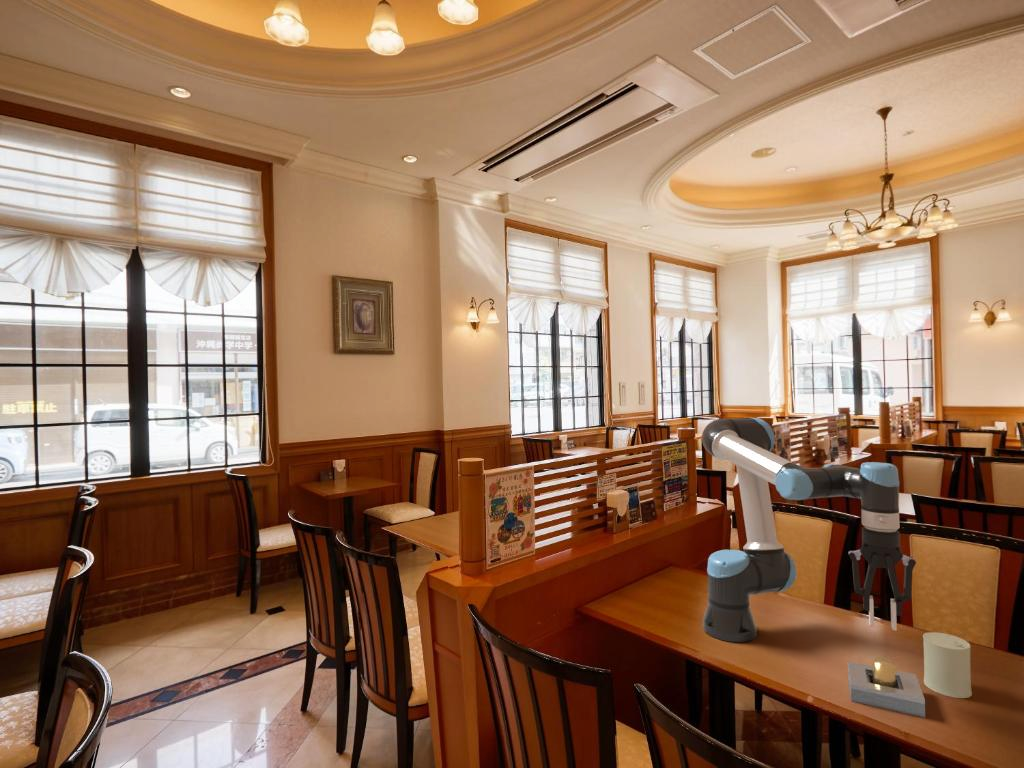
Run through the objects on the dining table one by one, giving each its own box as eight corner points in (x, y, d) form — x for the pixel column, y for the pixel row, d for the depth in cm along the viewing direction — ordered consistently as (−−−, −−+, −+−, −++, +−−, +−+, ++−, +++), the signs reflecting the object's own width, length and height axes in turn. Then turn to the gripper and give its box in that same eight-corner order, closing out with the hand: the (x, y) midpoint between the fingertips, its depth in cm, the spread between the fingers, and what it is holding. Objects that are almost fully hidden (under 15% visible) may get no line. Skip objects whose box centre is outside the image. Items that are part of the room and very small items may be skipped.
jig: (851, 701, 127) (850, 684, 127) (848, 676, 138) (847, 661, 138) (925, 717, 121) (924, 699, 121) (916, 690, 131) (915, 674, 131)
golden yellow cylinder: (874, 698, 128) (874, 664, 128) (872, 689, 132) (871, 656, 132) (897, 703, 126) (896, 668, 126) (894, 693, 130) (893, 660, 130)
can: (957, 702, 126) (956, 650, 126) (915, 682, 135) (914, 634, 135) (980, 692, 130) (979, 642, 130) (937, 674, 138) (936, 627, 138)
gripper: (840, 527, 130) (842, 625, 130) (927, 536, 122) (929, 640, 122) (838, 520, 137) (840, 613, 137) (921, 528, 129) (923, 627, 129)
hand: (882, 626), depth 129 cm, fingers open, 4 cm apart
